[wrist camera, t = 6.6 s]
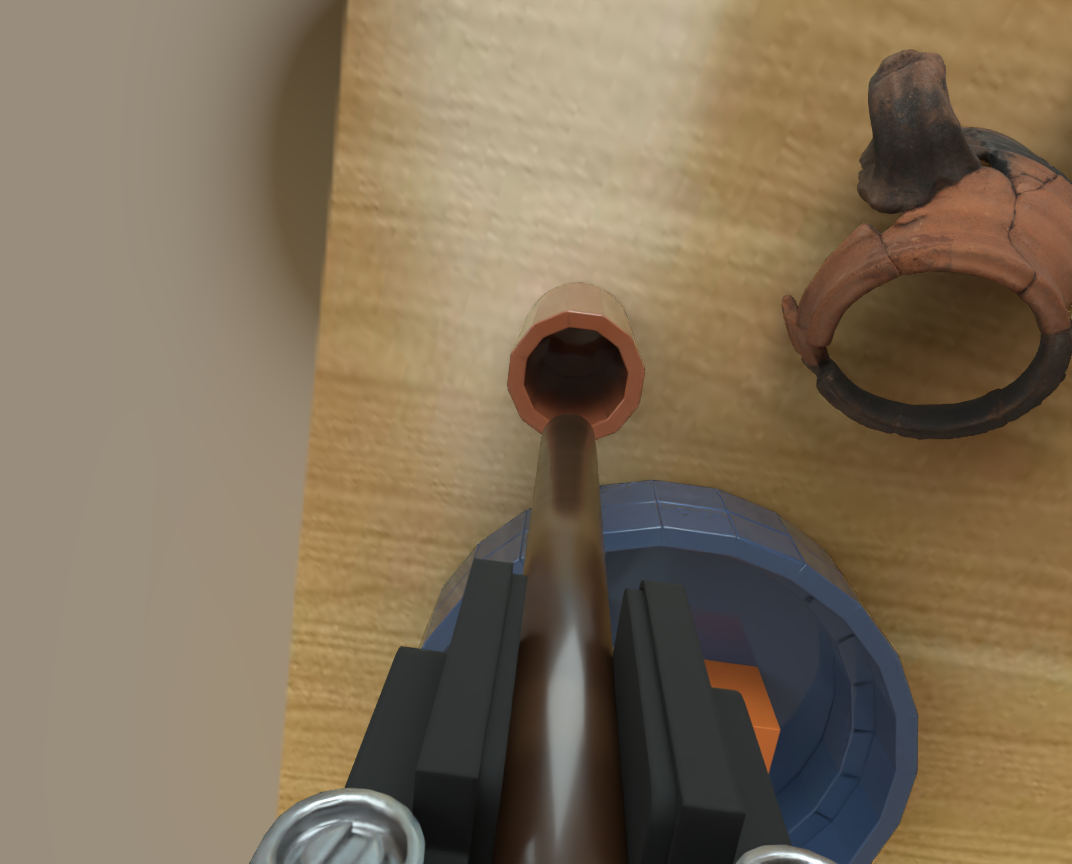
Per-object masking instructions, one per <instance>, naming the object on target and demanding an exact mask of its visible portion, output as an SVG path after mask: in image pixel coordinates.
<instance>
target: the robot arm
mask: <svg viewBox="0 0 1072 864" xmlns="http://www.w3.org/2000/svg"><path fill="white" fill-rule="evenodd" d="M512 573H513V563H509V562H502V561H494V560H486V559H479V558H474V560H473V563H472V566H471V570H470V574H469V577H468V581H467V585H466V588H465V592H464V596H463V599H462V603H461V607H460V610H459V614H458V618H457V621H456V625H455V628H454V632H453V636H452V639H451V643H450V647H449V650H448V652H440V651H433V650H425V649H417V648H410V647H402V646H401V647H400V648H399V649H398V651H397V653H396V655H395V658H394V661H393V663H392V666H391V668H390V671H389V674H388V676H387V679H386V681H385V684H384V687H383V689H382V692H381V694H380V697H379V700H378V702H377V705H376V707H375V710H374V713H373V715H372V718H371V720H370V723H369V726H368V728H367V731H366V733H365V736H364V739H363V741H362V744H361V746H360V749H359V752H358V754H357V757H356V759H355V762H354V765H353V767H352V770H351V772H350V775H349V778H348V780H347V783H346V785H345V788H342V789H336V790H331V791H325V792H320V793H318V794H316V795H313V796H311V797H309V798H306V799H304V800H302V801H299V802H297V803H296V804H295V805H294V806H292V807H291V808H290V809H288V810H287V811H286V812H284V813H283V814H282V815H280V816H279V817H278V818H277V820H276V821H275V822H274V823H273V825H272V826H271V827H270V829H269V830H268V831H267V833H266V834H265V835H264V837H263V839H262V841H261V842H260V845H259V846H258V848H257V850H256V852H255V853H254V855H253V857H252V859H251V861H250V863H249V864H492V858H493V851H494V843H495V835H496V827H497V820H498V812H499V804H500V796H501V789H502V781H503V773H504V765H505V757H506V748H507V740H508V732H509V724H510V716H511V708H512V699H513V691H514V683H515V675H516V667H517V659H518V650H519V642H520V634H521V626H522V618H523V609H524V601H525V593H526V585H527V577H528V576H527V575H520V574H512ZM612 660H613V672H614V685H615V698H616V711H617V723H618V736H619V749H620V762H621V774H622V787H623V800H624V813H625V825H626V838H627V851H628V864H837V863H836V862H834V861H833V860H830V859H828V858H826V857H824V856H821V855H819V854H817V853H815V852H812V851H810V850H807V849H803V848H798V847H793V846H792V844H791V841H790V838H789V835H788V832H787V829H786V826H785V823H784V820H783V817H782V814H781V810H780V807H779V804H778V801H777V798H776V795H775V792H774V789H773V786H772V783H771V780H770V777H769V774H768V771H767V768H766V765H765V762H764V759H763V756H762V753H761V750H760V747H759V744H758V741H757V738H756V734H755V731H754V728H753V725H752V722H751V719H750V716H749V713H748V710H747V707H746V704H745V701H744V699H743V697H742V695H741V693H740V692H738V691H737V690H730V689H722V688H715V687H711V684H710V680H709V676H708V673H707V669H706V665H705V662H704V658H703V654H702V651H701V647H700V643H699V640H698V636H697V632H696V629H695V625H694V621H693V618H692V614H691V610H690V607H689V603H688V599H687V595H686V592H685V588H684V586H683V585H679V584H671V583H664V582H656V581H648V580H642V581H641V582H640V586H639V589H638V590H635V589H628V588H626V589H625V591H624V594H623V599H622V605H621V610H620V616H619V622H618V628H617V633H616V639H615V645H614V651H613V656H612Z"/></svg>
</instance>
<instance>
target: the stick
mask: <svg viewBox="0 0 1072 864" xmlns="http://www.w3.org/2000/svg"><path fill="white" fill-rule="evenodd" d="M523 575H527V576H528V577H527V585H526V593H525V601H524V609H523V618H522V626H521V634H520V642H519V650H518V659H517V667H516V675H515V683H514V691H513V699H512V708H511V716H510V724H509V732H508V740H507V748H506V757H505V765H504V773H503V781H502V789H501V796H500V804H499V812H498V820H497V827H496V835H495V843H494V851H493V858H492V864H628V851H627V838H626V825H625V813H624V800H623V787H622V774H621V762H620V749H619V736H618V723H617V711H616V698H615V685H614V672H613V660H612V656H613V644H612V632H611V620H610V608H609V596H608V584H607V571H606V559H605V547H604V535H603V523H602V511H601V498H600V486H599V474H598V462H597V450H596V438H595V433H594V430H593V428H592V426H591V425H590V423H589V422H588V421H587V420H586V419H584V418H583V417H581V416H579V415H577V414H572V413H565V414H560V415H557V416H555V417H554V418H552V419H551V420H550V421H549V422H548V423H547V424H546V426H545V428H544V429H543V432H542V436H541V443H540V450H539V457H538V465H537V472H536V480H535V487H534V494H533V502H532V509H531V516H530V524H529V531H528V538H527V546H526V553H525V561H524V568H523Z"/></svg>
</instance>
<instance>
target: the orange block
mask: <svg viewBox="0 0 1072 864" xmlns="http://www.w3.org/2000/svg"><path fill="white" fill-rule="evenodd" d="M704 662H705V665H706V669H707V673H708V676H709V680H710V684H711V687H715V688H722V689H730V690H737V691H738V692H740V693H741V695H742V697H743V699H744V701H745V704H746V707H747V710H748V713H749V716H750V719H751V722H752V725H753V728H754V731H755V734H756V738H757V741H758V744H759V747H760V750H761V753H762V756H763V759H764V762H765V765H766V768H767V771H768V774H769V771H770V767H771V763H772V760H773V756H774V752H775V749H776V745H777V741H778V737H779V734H780V727H779V724H778V722H777V719H776V716H775V713H774V711H773V708H772V705H771V702H770V700H769V697H768V694H767V691H766V688H765V686H764V683H763V680H762V677H761V675H760V672H759V669H758V667H755V666H748V665H741V664H733V663H726V662H719V661H712V660H705V659H704Z"/></svg>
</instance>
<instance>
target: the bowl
mask: <svg viewBox="0 0 1072 864" xmlns="http://www.w3.org/2000/svg"><path fill="white" fill-rule="evenodd" d="M600 498H601V511H602V523H603V535H604V547H605V559H606V571H607V584H608V596H609V608H610V620H611V632H612V644H613V647H614V645H615V639H616V633H617V628H618V622H619V616H620V610H621V605H622V599H623V594H624V591H625V589H626V588H628V589H635V590H638V589H639V586H640V582H641V581H642V580H648V581H656V582H664V583H671V584H679V585H683V586H684V588H685V592H686V595H687V599H688V603H689V607H690V610H691V614H692V618H693V621H694V625H695V629H696V632H697V636H698V640H699V643H700V647H701V651H702V654H703V658H704V659H705V660H712V661H719V662H726V663H733V664H741V665H748V666H755V667H758V669H759V672H760V675H761V677H762V680H763V683H764V686H765V688H766V691H767V694H768V697H769V700H770V702H771V705H772V708H773V711H774V713H775V716H776V719H777V722H778V724H779V727H780V734H779V737H778V741H777V745H776V749H775V752H774V756H773V760H772V763H771V767H770V771H769V777H770V780H771V783H772V786H773V789H774V792H775V795H776V798H777V801H778V804H779V807H780V810H781V814H782V817H783V820H784V823H785V826H786V829H787V832H788V835H789V838H790V841H791V844H792V846H793V847H798V848H803V849H807V850H810V851H812V852H815V853H817V854H819V855H821V856H824V857H826V858H828V859H830V860H833V861H834V862H836V863H837V864H871V863H872V862H873V860H874V859H875V858H876V856H877V855H878V853H879V852H880V851H881V849H882V848H883V846H884V845H885V844H886V842H887V841H888V840H889V838H890V837H891V835H892V834H893V833H894V831H895V830H896V828H897V827H898V825H899V824H900V821H901V818H902V815H903V813H904V810H905V807H906V804H907V801H908V798H909V795H910V792H911V789H912V787H913V784H914V781H915V778H916V775H917V771H918V714H917V709H916V706H915V703H914V700H913V697H912V694H911V691H910V688H909V685H908V682H907V679H906V676H905V673H904V670H903V667H902V664H901V661H900V658H899V656H898V654H897V653H896V651H895V650H894V648H893V647H892V645H891V644H890V642H889V641H888V639H887V638H886V636H885V635H884V633H883V632H882V630H881V629H880V627H879V626H878V624H877V623H876V621H875V620H874V618H873V617H872V615H871V614H870V612H869V611H868V609H867V608H866V606H865V605H864V603H863V602H862V600H861V599H860V597H859V596H858V594H857V593H856V591H855V590H854V589H853V587H852V586H851V585H850V583H849V582H848V581H847V579H846V578H845V577H844V575H843V574H842V572H841V571H840V570H839V568H838V567H837V566H836V564H835V563H834V562H833V560H832V559H831V558H830V556H829V555H828V553H827V552H826V551H825V550H824V549H823V548H822V547H821V546H819V545H818V544H817V543H816V542H814V541H813V540H812V539H810V538H809V537H808V536H806V535H805V534H804V533H802V532H801V531H800V530H798V529H797V528H796V527H794V526H793V525H792V524H790V523H789V522H788V521H787V520H785V519H784V518H783V517H781V516H780V515H779V514H777V513H775V512H773V511H771V510H768V509H766V508H763V507H761V506H759V505H756V504H754V503H751V502H749V501H746V500H744V499H741V498H739V497H736V496H734V495H731V494H729V493H726V492H724V491H721V490H719V489H716V488H709V487H702V486H694V485H687V484H679V483H672V482H665V481H657V480H652V481H651V480H647V481H638V482H628V483H619V484H610V485H601V486H600ZM531 509H532V507H531V508H529V509H528V510H525V511H524V512H522V513H521V514H520V515H518V516H517V517H515V518H514V519H512V520H511V521H510V522H508V523H507V524H505V525H504V526H502V527H501V528H500V529H498V530H497V531H495V532H494V533H492V534H491V535H490V536H488V537H487V538H485V539H484V540H482V541H481V542H480V543H479V544H477V546H476V547H475V548H474V549H473V551H472V552H471V553H470V554H469V555H468V557H467V558H466V559H465V560H464V561H463V563H462V564H461V565H460V566H459V568H458V569H457V570H456V571H455V572H454V574H453V575H452V576H451V577H450V579H449V580H448V581H447V582H446V583H445V585H444V587H443V588H442V590H441V593H440V595H439V598H438V600H437V602H436V605H435V607H434V610H433V612H432V614H431V617H430V619H429V622H428V624H427V627H426V629H425V631H424V634H423V637H422V639H421V642H420V645H419V648H418V649H425V650H433V651H440V652H448V650H449V647H450V643H451V639H452V636H453V632H454V628H455V625H456V621H457V618H458V614H459V610H460V607H461V603H462V599H463V596H464V592H465V588H466V585H467V581H468V577H469V574H470V570H471V566H472V563H473V560H474V558H479V559H486V560H494V561H502V562H509V563H513V573H512V574H520V575H523V568H524V561H525V553H526V546H527V538H528V531H529V524H530V516H531Z"/></svg>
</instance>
